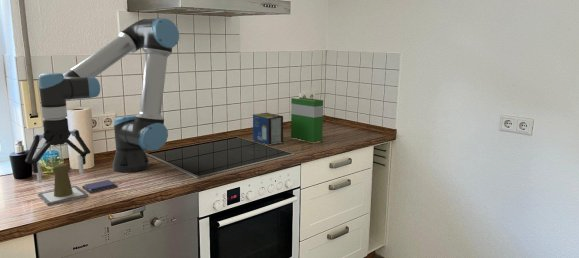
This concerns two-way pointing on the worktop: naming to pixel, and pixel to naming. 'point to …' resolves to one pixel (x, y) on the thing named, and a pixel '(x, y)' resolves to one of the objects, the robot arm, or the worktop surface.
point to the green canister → (307, 119)
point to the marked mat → (51, 199)
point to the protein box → (267, 128)
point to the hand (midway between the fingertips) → (61, 177)
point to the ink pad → (99, 186)
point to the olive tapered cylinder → (62, 181)
